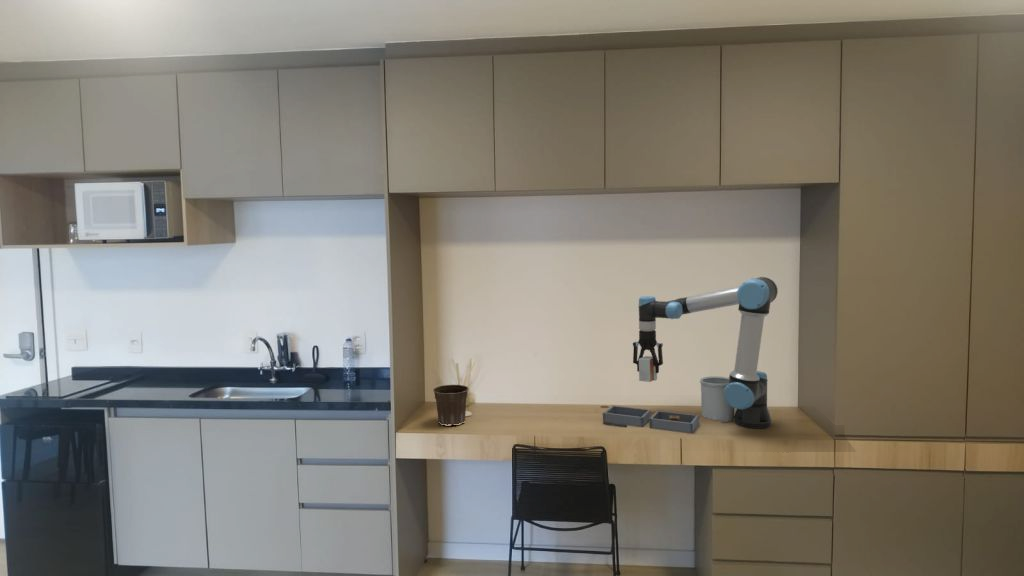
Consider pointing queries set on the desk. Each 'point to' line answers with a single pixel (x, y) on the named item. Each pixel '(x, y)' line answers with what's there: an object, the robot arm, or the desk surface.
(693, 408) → the desk surface
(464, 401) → the plant pot
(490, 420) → the desk surface
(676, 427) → the bin
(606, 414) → the bin
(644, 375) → the small box
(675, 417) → the walnut block
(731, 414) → the utensil holder
